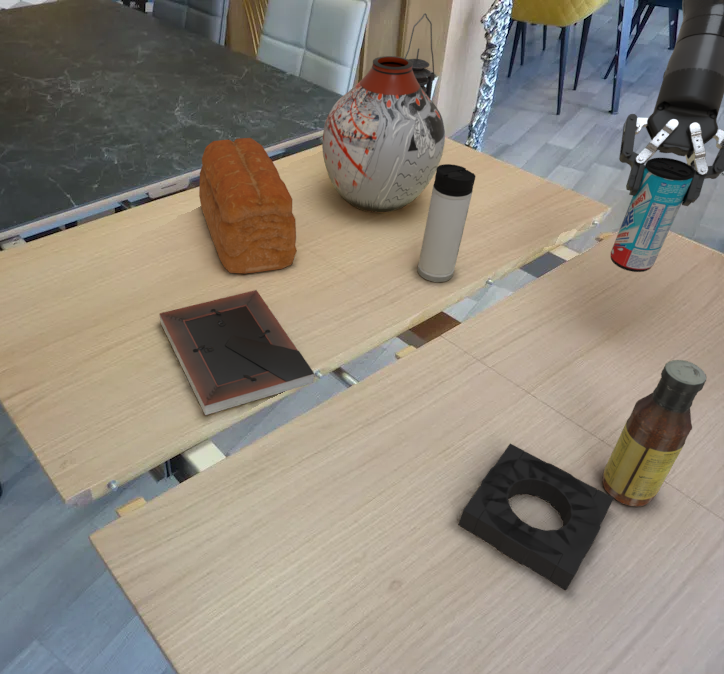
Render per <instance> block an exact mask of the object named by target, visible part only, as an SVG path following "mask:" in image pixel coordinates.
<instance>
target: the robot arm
mask: <svg viewBox="0 0 724 674" xmlns="http://www.w3.org/2000/svg"><path fill="white" fill-rule="evenodd" d="M681 2H682V3H681V4H682V5H681V7H682V22H681V25H680V28H679V31H678V35H677V39H676V40H675V41H676V42H675V44H674V49H673V51H672V53H671V55H670V57H669V59H668V62H667V65H666V68H665V70H664V72H663V76H662V83H661V84H660V85H661V86H660V89H659V92H658V94H657V98H656V101H655V106H654V109H653V112H652V114H650V115H649V116H648V117H639V116H637V114H635V113H631V114H628V116H627V117H626V119H625V120H624V123H623V127H622V135H621V136H622V137H621V141H620V142H621V143H620V151H619V158H618V159H619V162H620V163H622V164H627V165H629V166H630V172H629V175H628V179H627V182H626V184H625V185H626V186H625V188H626V191H629V196H631V197H633V196H635V195H636V193H637V192H638V189H639V186H640V183H641V179H642V176H643V172H644V169H645V165H646V162H647V161H648V160H650V159H652V157H653V156H654V155H655V154H656V153H657V152H658V151H659V152H658V153H663V154H674V155H675V156H676V155H677V156H678V157H685V159H686V164H688V165H690V166H691V167H693V169H694V170H695V175H694V177H693V179H692V181H691V184H690V186H689V188H688V190H687V193H686V195H685V197H684V199H683V202H682V204H681V206H683V207H689V206H690V205H691V204H692V203H693V204H694V203H695V202H696V201H697V200H698V198H700V196H701V192H702V188H703V185H704V181H705V180H706V179H711V180H716V179H717V178H718V177H719V176H720V175H721V174H722V173H723V172H724V130H723V129H720V128H719V126H718V122H717V121H718V120H717V119H718V116H719V112H720V109H721V105H722V103H723V98H724V0H682V1H681ZM643 128H645V129H646V131H647V133H648V136H649V138H650V141H649V143H648V144H647V145H646V146H645V147H644V148H643V149H642V150H641V151H640V152H639V154H638V153H637V152H635V151H634V147H635V139H636V136H637V135H638V134H640V132H641V130H642V129H643ZM712 139H714V140H715V147H716V148H717V149H718V152H717V154H716V157H715V159H714V161H713V162H712V165H708V162H707V159H706V156H707V152H706V148H705V144H707V143H708V142H709V141H711V140H712Z"/></svg>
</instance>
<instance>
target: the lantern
mask: <svg viewBox="0 0 724 674" xmlns="http://www.w3.org/2000/svg"><path fill="white" fill-rule="evenodd" d="M424 17H425V18H426V20H427V21H428V22H429V25H430V27H429V29H430V52H431V59H432V60H431V61H432V62H431V63H432V72H431V70H430V69H428V68H429V67H430V63H429V62H428V61H426V60H425V59H421V58H419V52H420V48H419V47H418V48H417V52H416V58H409V59H408V58H407V56H408V55H409V52H410V49H411V45H412V40H413V36H414V32H415V28H416V26H417V25H418V24H419V23H420V22H421V21H422V20H423V19H424ZM404 58H405V59H408V60H410V61H411V62H412V63H413V66H412V70H413V73H414V76H415V78H416V80H417V81H418V83H419V85H420V86H421V88H422V89H423V91H424V92H425V93H426V94H427V96H428V97H429V98H430V99H431V100H432V91H433V90H432V89H433V83H434V81H435V79H436V74H435V60H434V59H435V58H434V50H433V24H432V21H431V20H430V18H429V17H428V14H427V13H423V15H422V16H421V17H420V19H419V20H418V21H417V22H416V23H415V24H414V25H413V27H412V31H411V35H410V39H409V43H408V49H407V52H406V54H405V56H404Z"/></svg>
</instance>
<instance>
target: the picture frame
mask: <svg viewBox="0 0 724 674" xmlns="http://www.w3.org/2000/svg"><path fill="white" fill-rule="evenodd" d="M158 314H159V321H160V322H159V323H160V325H161V327H162V329H163V331H164V333H165V335H166V338H167V339H168V341H169V343H170V346H171V348H172V349H173V352H174V354H175V356H176V357H177V360H178V362H179V364H180V366H181V369H182V370H183V371H184V374H185V377H186V379H187V381H188V383H189V384H190V387H191V389H192V391H193V393H194V395H195V397H196V400H197V402H198V403H199V406H200V407H201V409H202V411H203V414H204V415H205V416H208V415H210V414H214V413H218V412H220V411H221V412H222V411H225V410H228V409H231V408H234V407H238V406H241V405H245V404H247V403H251V402H254V401H258V400H261V399H264V398H268V397H271V396H274V395H277V394H281V393H284V392H288V391H291V390H294V389H297V388H298V389H299V388H302V387H304V386H308V385H311V384H314V379H315V372H314V370H313V369H312V367H311V366H310V365H309V364H308V362H307V360H306V359H305V357H304V356H303V355H302V352H301V351H300V350H298V348H297V347H296V346H295V344H294V343H293V341H292V340H291V338H290V336H289V335H288V334H287V332H286V331H285V329H284V328H283V327H282V325H281V323H280V322H279V320H277V318H276V316H275V315H274V313H273V312H272V311H271V309H270V308H269V306H268V305H267V303H266V302H265V300H264V299H263V297H262V296H261V294H260V293H259V291H258V290H257V289H254V290H251V291H247V292H242V293H238V294H234V295H230V296H226V297H221V298H217V299H213V300H209V301H205V302H201V303H197V304H193V305H188V306H184V307H180V308H176V309H172V310H167V311H164V312H160V313H158Z"/></svg>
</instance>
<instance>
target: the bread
mask: <svg viewBox="0 0 724 674" xmlns="http://www.w3.org/2000/svg"><path fill="white" fill-rule="evenodd" d="M274 163H275V162H274V161H273V159H272V158H270V156H269V154H268V152H267V151H266V150H265V148H264V146H263V145H262V144H260V143H259V142H258V141H256V140H255V139H254V138H252V137H242V138H239V137H238V138H236V139H235V140H234V141H232V140H230V139H221V140H220V139H219V140H213V141H211V142H210V143H209V144H208V145H206V147H205V148H204V151H203V154H202V156H201V164H202V165H201V167H200V171H199V185H198V186H199V188H198V189H199V191H198V194H199V195H198V197H199V202H200V207H201V210H202V213H203V216H204V219H205V222H206V225H207V228H208V231H209V234H210V238H211V239H212V242H213V245H214V248H215V250H216V253H217V257H218V259H219V261H220V262H221V264H222V266H223V267H224V269H225V270H226V271H227V272H228V273H231V274H245V275H246V274H253V273H262V272H268V271H276V270H282V269H285V268H287V267H289V266H291V265H293V262H294V259H295V257H296V254H297V251H298V250H297V246H296V241H297V226H296V225H297V223H296V217H295V215H294V213H293V197H292V195H291V193H290V192H289V190H288V188H287V185H286V183H285V182H284V180H283V179H282V178H281V176H280V173H279V171H278V169H277V167H276V165H275V164H274Z"/></svg>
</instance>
